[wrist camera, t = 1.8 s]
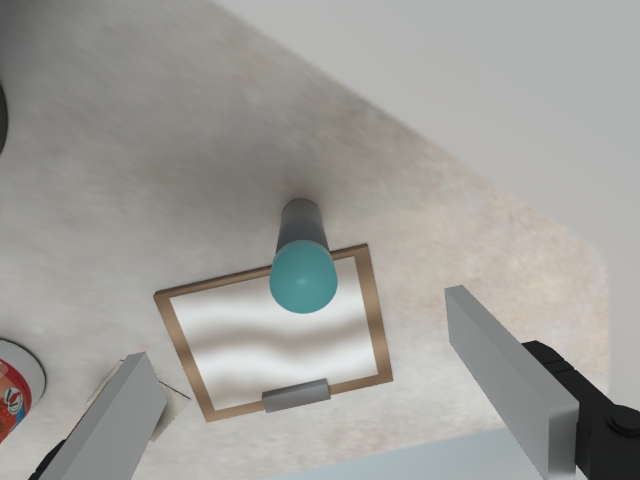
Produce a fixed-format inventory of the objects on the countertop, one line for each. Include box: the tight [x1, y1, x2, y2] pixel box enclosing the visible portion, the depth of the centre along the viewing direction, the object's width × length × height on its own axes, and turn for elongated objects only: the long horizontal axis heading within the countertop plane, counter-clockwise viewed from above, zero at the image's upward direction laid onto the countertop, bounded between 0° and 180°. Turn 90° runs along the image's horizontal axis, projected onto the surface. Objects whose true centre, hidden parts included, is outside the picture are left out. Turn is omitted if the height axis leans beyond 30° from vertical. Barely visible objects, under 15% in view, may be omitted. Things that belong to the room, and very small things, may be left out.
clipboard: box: [153, 244, 393, 422], centre depth 36 cm, size 16×21×2 cm
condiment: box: [67, 361, 190, 442], centre depth 33 cm, size 7×8×12 cm
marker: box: [269, 199, 338, 314], centre depth 26 cm, size 4×4×14 cm
